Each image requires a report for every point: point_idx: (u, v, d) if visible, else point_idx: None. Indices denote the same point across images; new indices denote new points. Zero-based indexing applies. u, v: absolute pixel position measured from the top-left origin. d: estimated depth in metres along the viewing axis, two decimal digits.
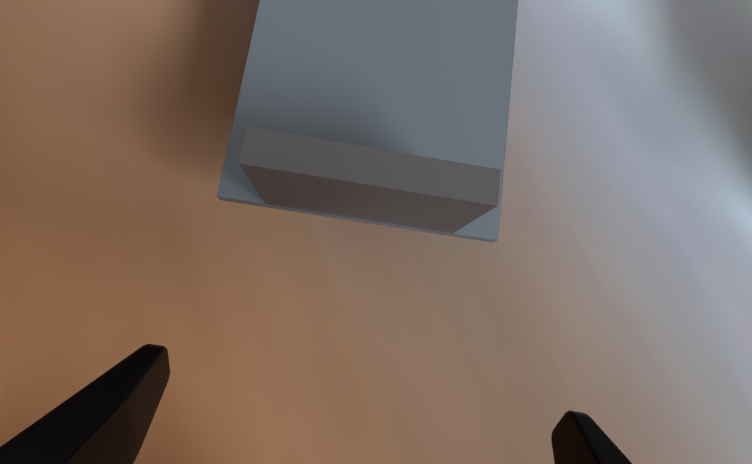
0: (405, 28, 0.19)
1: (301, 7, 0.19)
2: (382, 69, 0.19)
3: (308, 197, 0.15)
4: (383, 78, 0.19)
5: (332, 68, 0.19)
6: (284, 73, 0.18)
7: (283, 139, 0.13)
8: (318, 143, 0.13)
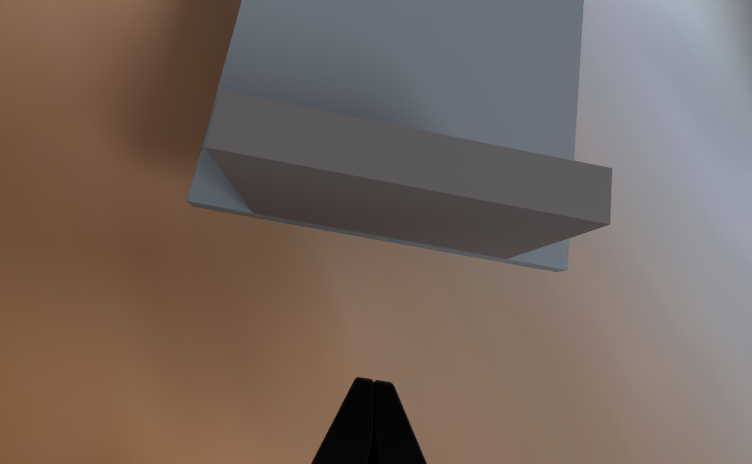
0: None
1: None
2: (413, 41, 0.14)
3: (313, 205, 0.11)
4: (415, 52, 0.14)
5: (348, 37, 0.14)
6: (284, 41, 0.14)
7: (277, 112, 0.08)
8: (332, 119, 0.08)
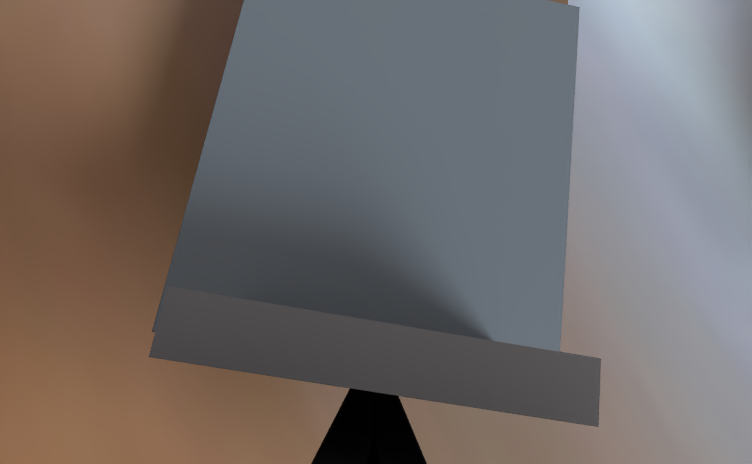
0: (428, 89, 0.14)
1: (287, 58, 0.14)
2: (396, 145, 0.14)
3: None
4: (397, 157, 0.14)
5: (326, 143, 0.13)
6: (259, 150, 0.13)
7: (231, 309, 0.07)
8: (292, 317, 0.07)
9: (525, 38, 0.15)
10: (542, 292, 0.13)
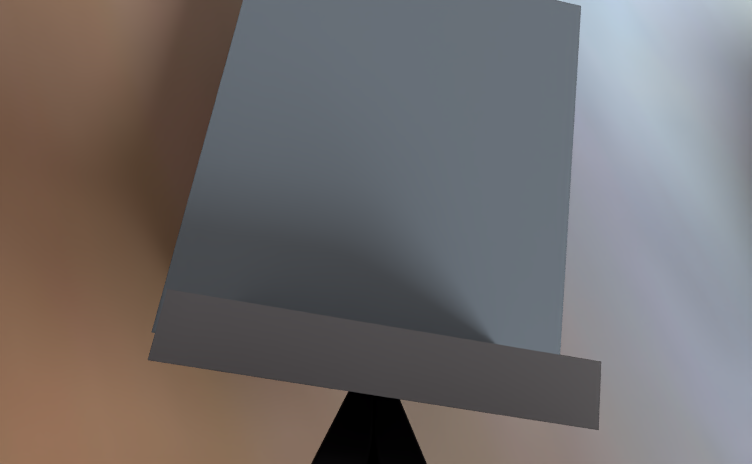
0: (428, 88, 0.14)
1: (287, 58, 0.14)
2: (396, 145, 0.14)
3: None
4: (397, 157, 0.14)
5: (326, 143, 0.13)
6: (259, 150, 0.13)
7: (230, 312, 0.07)
8: (291, 320, 0.07)
9: (526, 37, 0.15)
10: (542, 293, 0.13)
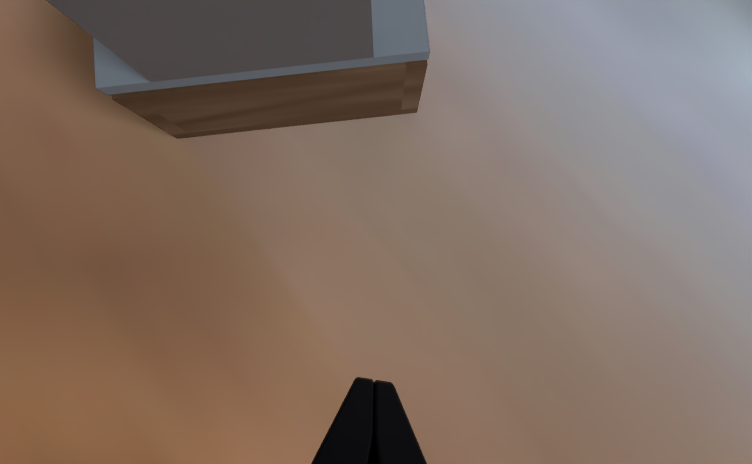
0: None
1: None
2: None
3: (172, 42, 0.13)
4: None
5: None
6: None
7: None
8: None
9: None
10: None
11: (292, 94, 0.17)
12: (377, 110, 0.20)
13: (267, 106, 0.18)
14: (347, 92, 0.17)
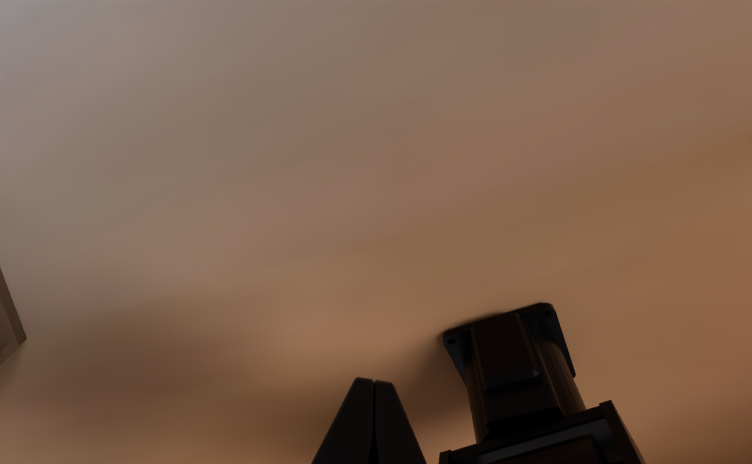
0: None
1: None
2: None
3: None
4: None
5: None
6: None
7: None
8: None
9: None
10: None
11: None
12: None
13: None
14: None
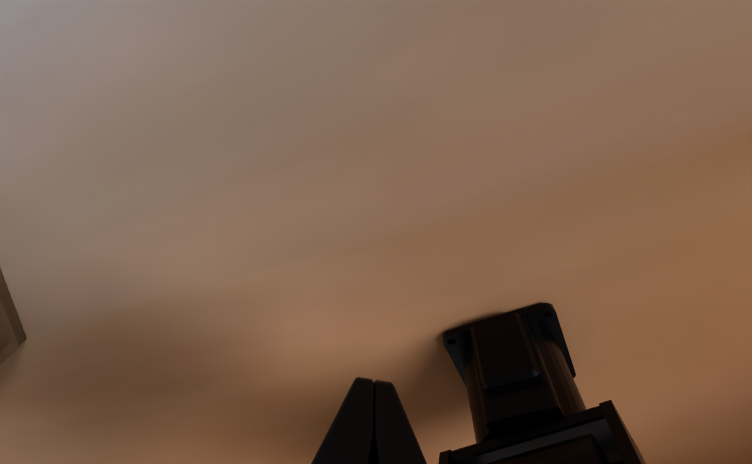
0: None
1: None
2: None
3: None
4: None
5: None
6: None
7: None
8: None
9: None
10: None
11: None
12: None
13: None
14: None
